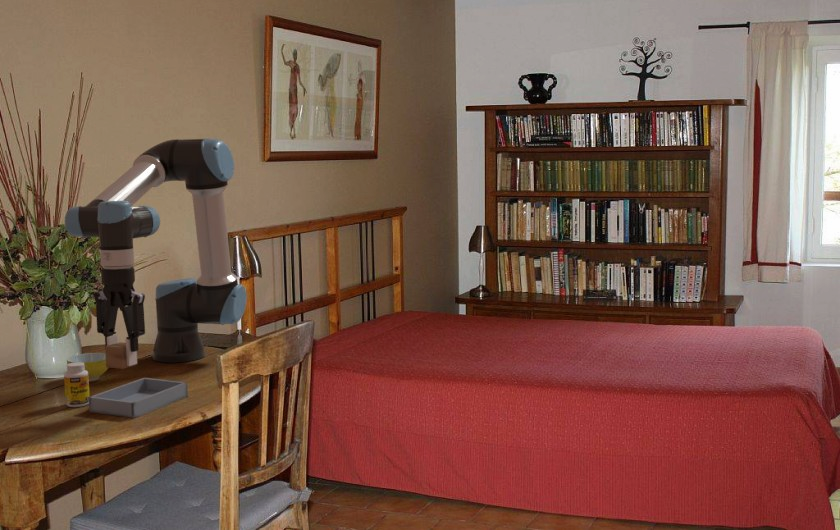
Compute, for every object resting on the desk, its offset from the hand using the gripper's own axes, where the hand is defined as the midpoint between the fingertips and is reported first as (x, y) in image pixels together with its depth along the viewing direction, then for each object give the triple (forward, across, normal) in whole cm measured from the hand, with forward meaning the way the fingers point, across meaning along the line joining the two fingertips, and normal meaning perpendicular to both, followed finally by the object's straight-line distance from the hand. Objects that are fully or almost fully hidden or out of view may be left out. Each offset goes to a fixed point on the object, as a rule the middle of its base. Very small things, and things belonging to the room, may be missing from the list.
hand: (122, 363), depth 218 cm
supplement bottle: (+12, -14, -1) cm, 18 cm away
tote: (+11, 0, +5) cm, 13 cm away
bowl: (+11, -29, +19) cm, 37 cm away
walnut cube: (0, 0, 0) cm, 1 cm away
